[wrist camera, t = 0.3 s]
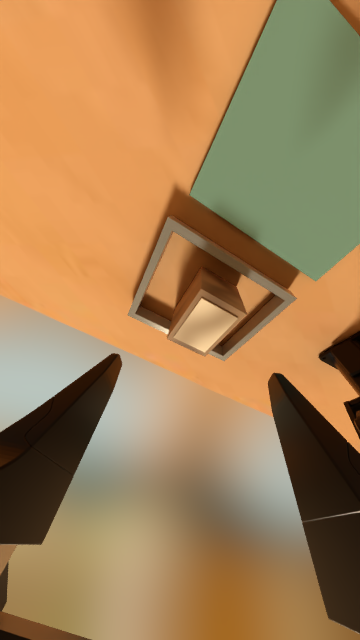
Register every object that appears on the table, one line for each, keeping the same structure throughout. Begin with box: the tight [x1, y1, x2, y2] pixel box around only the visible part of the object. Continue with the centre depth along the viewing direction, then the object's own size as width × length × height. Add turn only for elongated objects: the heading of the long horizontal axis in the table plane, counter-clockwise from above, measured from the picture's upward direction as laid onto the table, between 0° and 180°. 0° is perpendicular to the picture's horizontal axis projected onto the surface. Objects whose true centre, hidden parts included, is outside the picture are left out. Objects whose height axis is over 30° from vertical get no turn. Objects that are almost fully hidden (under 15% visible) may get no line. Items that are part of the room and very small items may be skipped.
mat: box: [190, 0, 360, 281], centre depth 13 cm, size 16×11×1 cm
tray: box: [128, 215, 297, 361], centre depth 20 cm, size 16×13×2 cm
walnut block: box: [167, 267, 247, 356], centre depth 19 cm, size 5×7×6 cm
